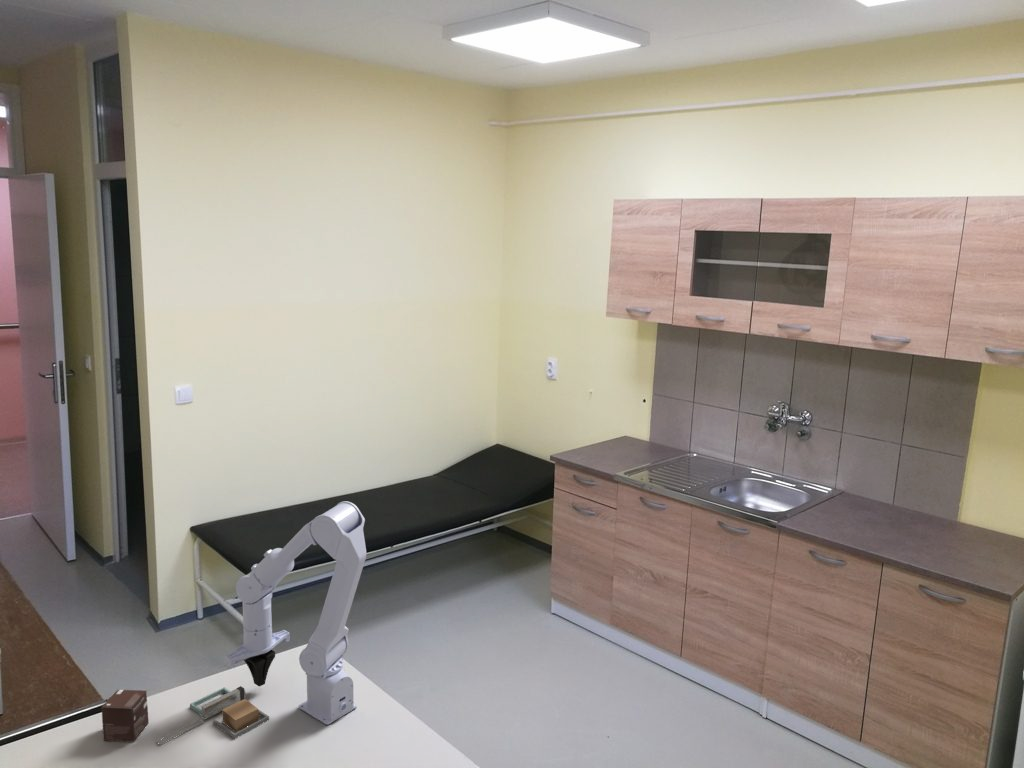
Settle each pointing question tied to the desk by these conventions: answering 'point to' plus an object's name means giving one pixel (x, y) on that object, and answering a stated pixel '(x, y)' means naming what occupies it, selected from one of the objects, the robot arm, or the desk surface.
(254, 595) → the robot arm
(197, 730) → the desk surface
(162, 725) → the desk surface
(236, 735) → the socket
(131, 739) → the box
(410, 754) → the desk surface
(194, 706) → the frame
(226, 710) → the plug
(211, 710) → the bar
